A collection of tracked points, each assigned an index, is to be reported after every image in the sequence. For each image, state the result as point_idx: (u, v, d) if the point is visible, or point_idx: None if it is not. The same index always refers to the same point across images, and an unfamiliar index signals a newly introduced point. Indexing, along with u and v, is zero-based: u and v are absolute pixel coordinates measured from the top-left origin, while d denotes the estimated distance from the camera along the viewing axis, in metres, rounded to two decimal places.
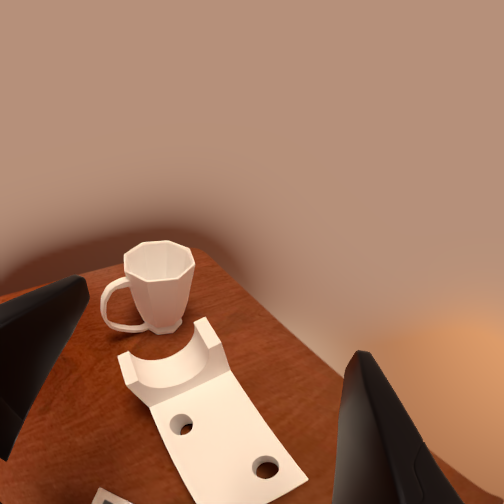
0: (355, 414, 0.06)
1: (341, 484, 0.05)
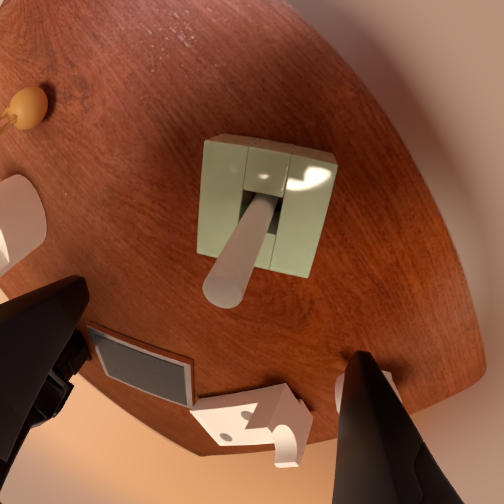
0: (355, 414, 0.06)
1: (341, 484, 0.05)
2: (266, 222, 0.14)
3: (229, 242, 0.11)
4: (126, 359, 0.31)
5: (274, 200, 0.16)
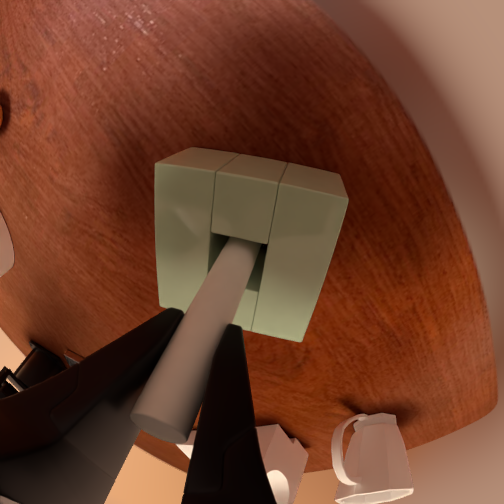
0: None
1: None
2: (240, 287, 0.09)
3: (175, 337, 0.07)
4: None
5: (257, 242, 0.12)
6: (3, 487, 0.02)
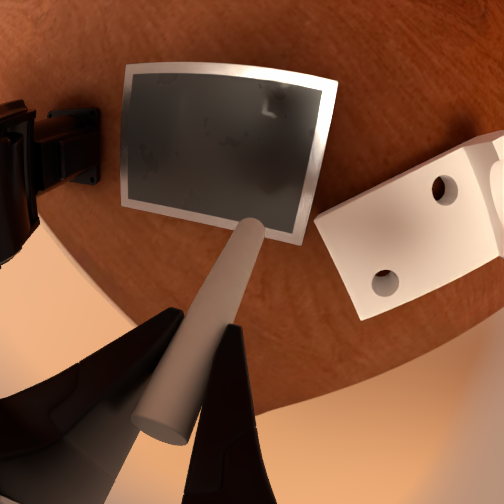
0: None
1: None
2: (240, 288, 0.09)
3: (175, 339, 0.07)
4: (188, 114, 0.16)
5: (257, 243, 0.12)
6: (3, 487, 0.02)
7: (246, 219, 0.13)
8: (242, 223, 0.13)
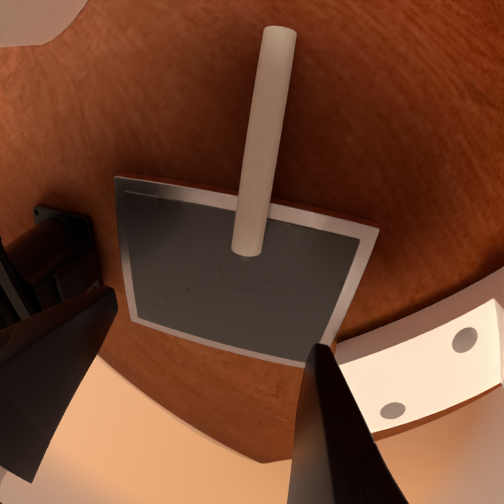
0: (307, 408, 0.06)
1: (294, 481, 0.05)
2: None
3: None
4: (198, 253, 0.15)
5: None
6: None
7: None
8: None
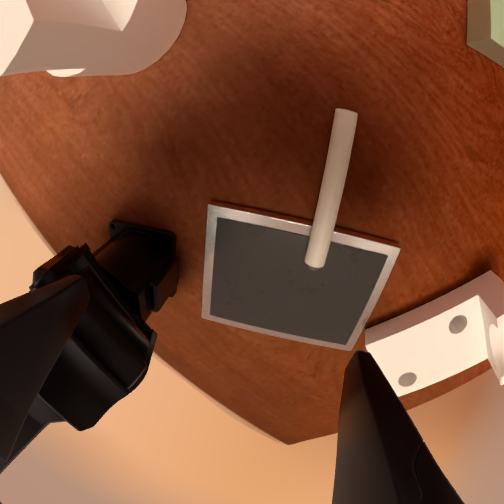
0: (355, 414, 0.06)
1: (341, 484, 0.05)
2: None
3: None
4: (274, 264, 0.21)
5: None
6: None
7: None
8: None
